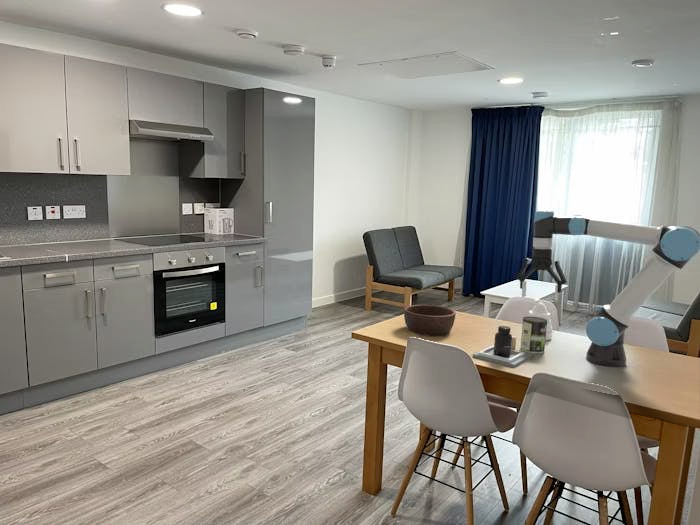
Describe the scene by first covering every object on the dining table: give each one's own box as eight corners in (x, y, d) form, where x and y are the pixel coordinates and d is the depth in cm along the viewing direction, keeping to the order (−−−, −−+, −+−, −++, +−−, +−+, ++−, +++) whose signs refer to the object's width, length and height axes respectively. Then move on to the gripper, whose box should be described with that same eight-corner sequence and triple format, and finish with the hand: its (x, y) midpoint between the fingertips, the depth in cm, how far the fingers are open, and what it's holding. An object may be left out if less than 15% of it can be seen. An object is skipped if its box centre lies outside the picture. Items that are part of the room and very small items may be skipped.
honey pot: (525, 338, 252) (529, 301, 249) (522, 331, 264) (525, 296, 262) (554, 341, 250) (557, 303, 247) (549, 334, 262) (552, 298, 260)
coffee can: (547, 350, 235) (550, 319, 233) (540, 355, 226) (543, 323, 225) (524, 345, 241) (527, 315, 239) (516, 350, 233) (519, 318, 231)
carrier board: (533, 356, 224) (534, 340, 223) (514, 367, 209) (515, 350, 208) (493, 347, 236) (494, 331, 235) (472, 356, 220) (473, 340, 219)
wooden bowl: (392, 328, 260) (393, 308, 259) (425, 321, 277) (426, 302, 275) (432, 340, 242) (433, 318, 240) (464, 332, 259) (466, 312, 257)
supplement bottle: (506, 358, 216) (509, 330, 214) (490, 355, 220) (493, 327, 218) (512, 355, 221) (515, 327, 219) (497, 351, 225) (499, 324, 224)
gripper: (576, 249, 216) (573, 300, 219) (515, 245, 231) (513, 293, 233) (571, 250, 210) (568, 303, 213) (509, 246, 225) (507, 296, 227)
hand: (539, 298), depth 223 cm, fingers open, 13 cm apart
